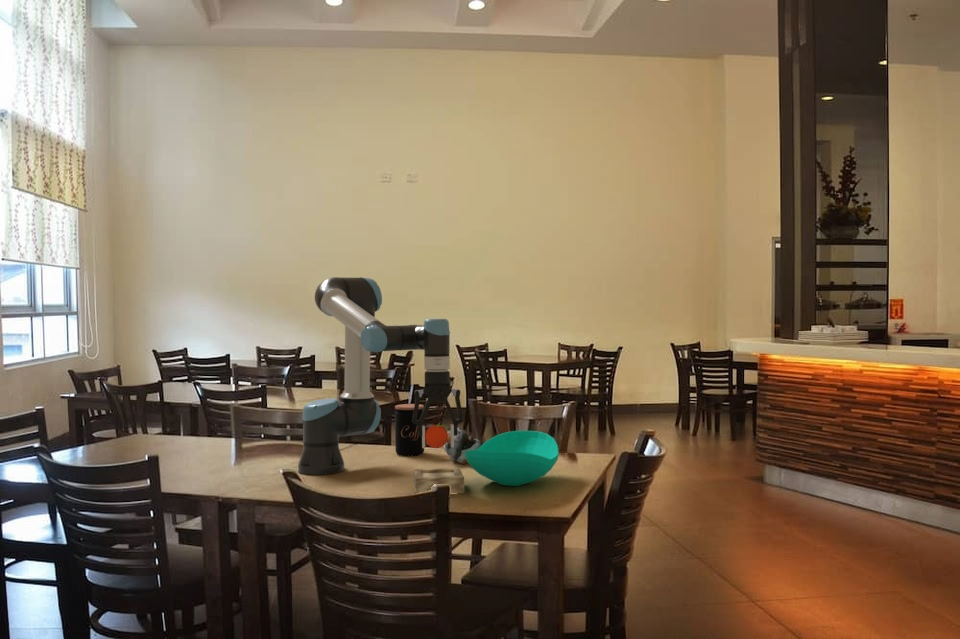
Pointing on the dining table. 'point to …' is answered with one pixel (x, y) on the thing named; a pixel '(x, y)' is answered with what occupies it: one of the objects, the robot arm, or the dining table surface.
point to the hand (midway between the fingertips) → (438, 446)
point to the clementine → (436, 436)
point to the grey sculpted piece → (460, 446)
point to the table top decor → (515, 457)
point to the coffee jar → (407, 431)
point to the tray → (438, 479)
